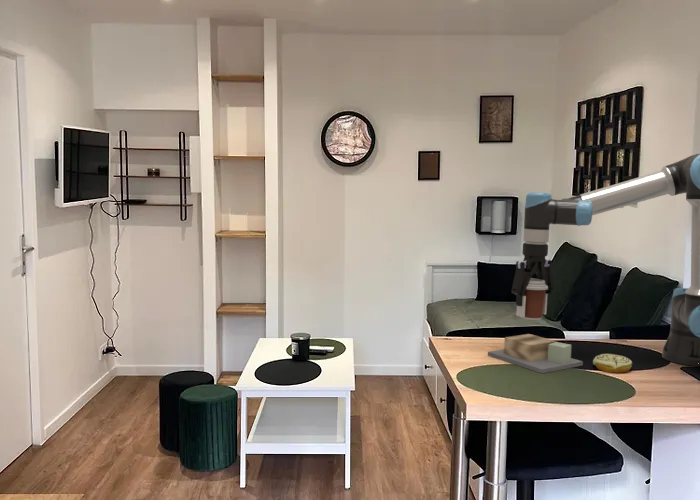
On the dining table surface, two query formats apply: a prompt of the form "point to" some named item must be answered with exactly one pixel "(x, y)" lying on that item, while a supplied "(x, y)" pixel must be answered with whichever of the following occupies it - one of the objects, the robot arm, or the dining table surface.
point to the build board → (534, 362)
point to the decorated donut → (612, 363)
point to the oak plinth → (527, 347)
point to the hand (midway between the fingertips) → (531, 315)
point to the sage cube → (559, 352)
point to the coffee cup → (534, 299)
